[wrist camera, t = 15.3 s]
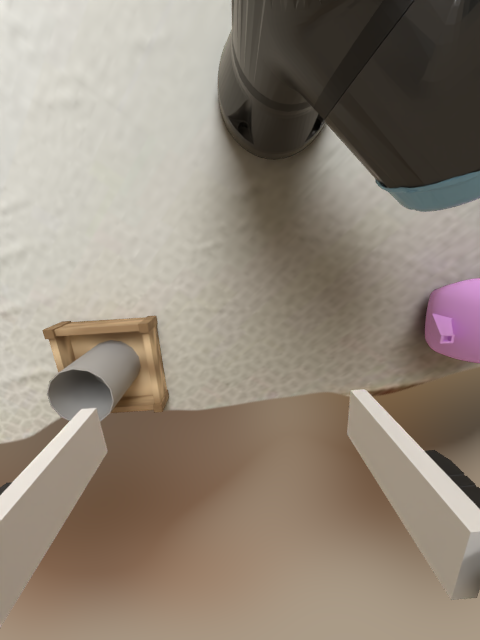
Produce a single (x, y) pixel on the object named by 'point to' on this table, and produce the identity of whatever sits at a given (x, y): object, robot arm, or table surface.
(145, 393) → the crate
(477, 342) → the teapot
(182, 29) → the table surface
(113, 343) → the cup
